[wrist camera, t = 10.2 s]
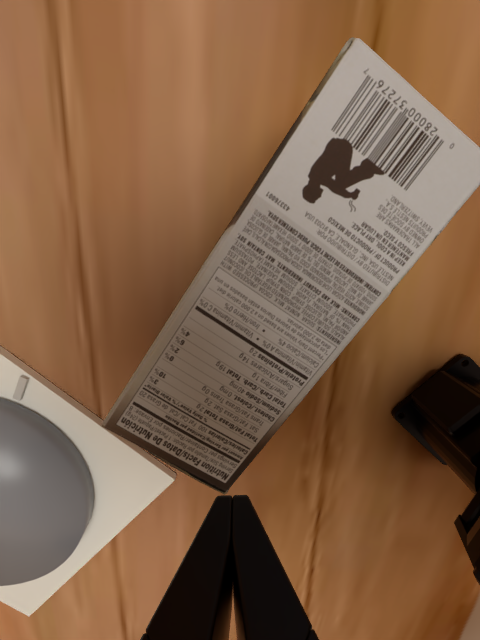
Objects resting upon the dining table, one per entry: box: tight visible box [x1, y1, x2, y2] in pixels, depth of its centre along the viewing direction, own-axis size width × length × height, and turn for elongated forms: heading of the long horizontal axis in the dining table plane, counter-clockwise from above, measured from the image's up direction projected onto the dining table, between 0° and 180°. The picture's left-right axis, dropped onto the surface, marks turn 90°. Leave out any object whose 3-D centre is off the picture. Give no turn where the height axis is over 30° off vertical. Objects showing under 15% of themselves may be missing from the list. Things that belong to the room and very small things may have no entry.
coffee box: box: [102, 38, 480, 494], centre depth 15 cm, size 9×6×16 cm
